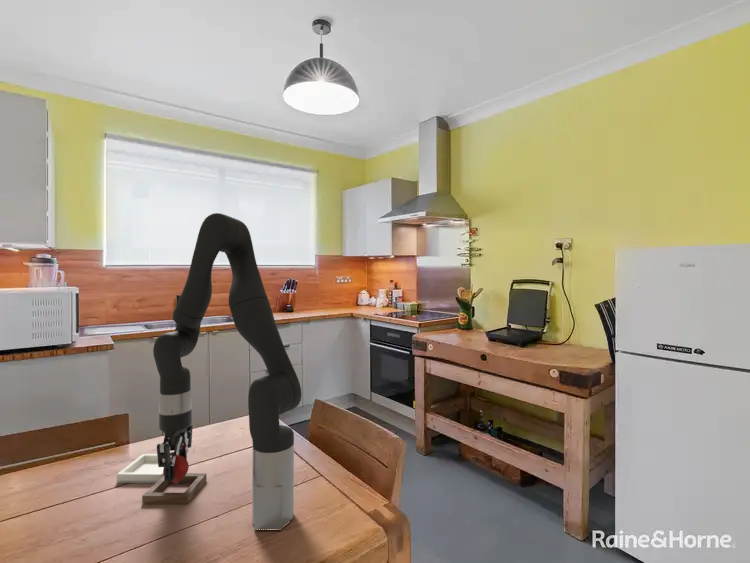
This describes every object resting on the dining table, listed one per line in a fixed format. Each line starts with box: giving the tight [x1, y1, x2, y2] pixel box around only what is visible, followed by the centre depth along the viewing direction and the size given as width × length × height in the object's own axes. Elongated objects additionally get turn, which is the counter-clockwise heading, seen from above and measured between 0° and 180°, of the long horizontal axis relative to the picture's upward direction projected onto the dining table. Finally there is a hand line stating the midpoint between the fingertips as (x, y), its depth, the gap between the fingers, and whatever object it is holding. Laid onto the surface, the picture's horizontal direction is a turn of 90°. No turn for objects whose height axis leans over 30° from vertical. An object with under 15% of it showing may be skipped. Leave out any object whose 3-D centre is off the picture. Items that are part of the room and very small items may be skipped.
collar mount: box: [141, 472, 208, 505], centre depth 101 cm, size 11×11×2 cm
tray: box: [116, 453, 172, 484], centre depth 111 cm, size 12×12×2 cm
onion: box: [163, 453, 190, 485], centre depth 100 cm, size 6×6×8 cm
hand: (176, 473), depth 100 cm, fingers closed on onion, 6 cm apart
